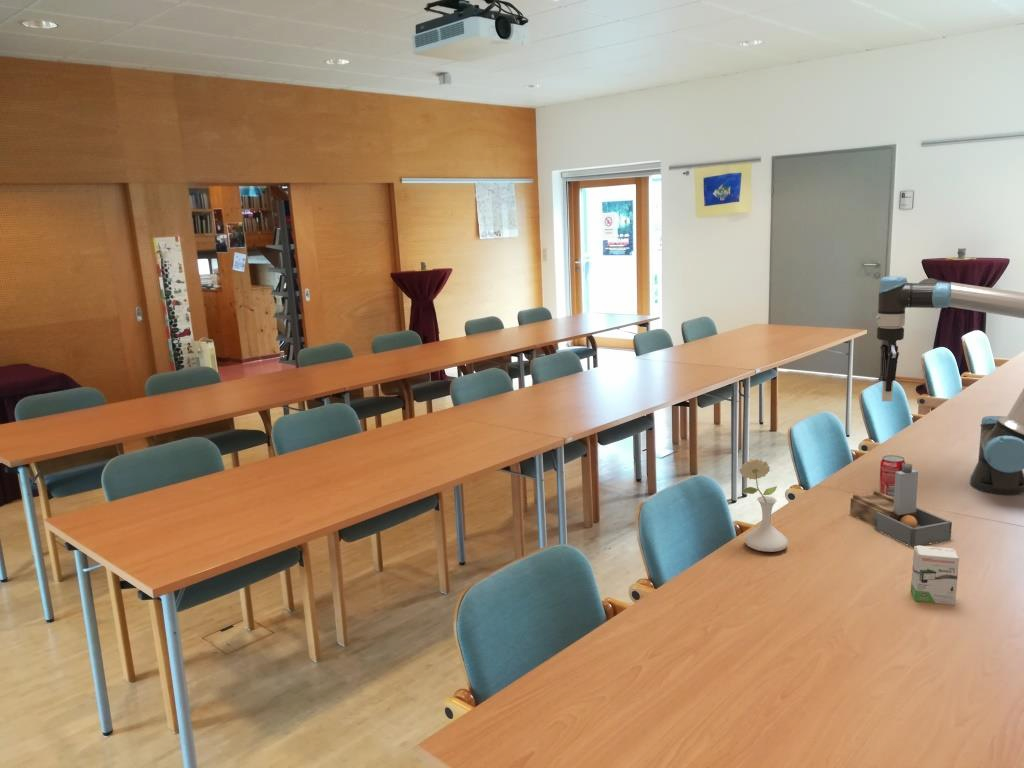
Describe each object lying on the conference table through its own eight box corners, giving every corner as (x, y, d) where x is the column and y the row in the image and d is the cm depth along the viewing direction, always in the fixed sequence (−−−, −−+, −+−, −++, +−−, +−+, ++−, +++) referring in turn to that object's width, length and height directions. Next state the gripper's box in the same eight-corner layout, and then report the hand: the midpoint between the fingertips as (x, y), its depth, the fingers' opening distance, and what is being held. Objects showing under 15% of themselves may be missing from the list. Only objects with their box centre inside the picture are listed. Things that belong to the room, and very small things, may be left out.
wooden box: (850, 514, 227) (850, 495, 225) (877, 509, 229) (878, 490, 228) (887, 532, 213) (888, 512, 211) (916, 527, 215) (917, 507, 214)
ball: (923, 522, 210) (912, 525, 214) (912, 510, 211) (901, 513, 215) (915, 532, 208) (904, 535, 212) (903, 519, 209) (893, 523, 213)
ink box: (914, 601, 175) (917, 553, 172) (910, 591, 179) (913, 544, 177) (956, 605, 172) (960, 557, 170) (951, 595, 177) (954, 548, 174)
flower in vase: (790, 541, 210) (792, 455, 205) (785, 558, 200) (788, 468, 195) (741, 535, 215) (742, 451, 210) (734, 551, 205) (736, 463, 200)
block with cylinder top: (892, 512, 213) (895, 464, 210) (909, 509, 214) (912, 462, 211) (899, 515, 211) (901, 467, 208) (916, 512, 212) (919, 464, 209)
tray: (874, 528, 215) (875, 512, 214) (911, 522, 219) (912, 505, 218) (912, 547, 202) (913, 529, 201) (950, 539, 206) (951, 522, 205)
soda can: (907, 501, 234) (909, 461, 231) (882, 501, 235) (884, 461, 233) (900, 493, 241) (902, 454, 238) (876, 493, 242) (878, 454, 239)
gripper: (872, 324, 242) (869, 396, 247) (882, 329, 230) (878, 405, 235) (898, 323, 240) (894, 396, 245) (909, 329, 228) (905, 405, 233)
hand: (886, 400), depth 240 cm, fingers closed
